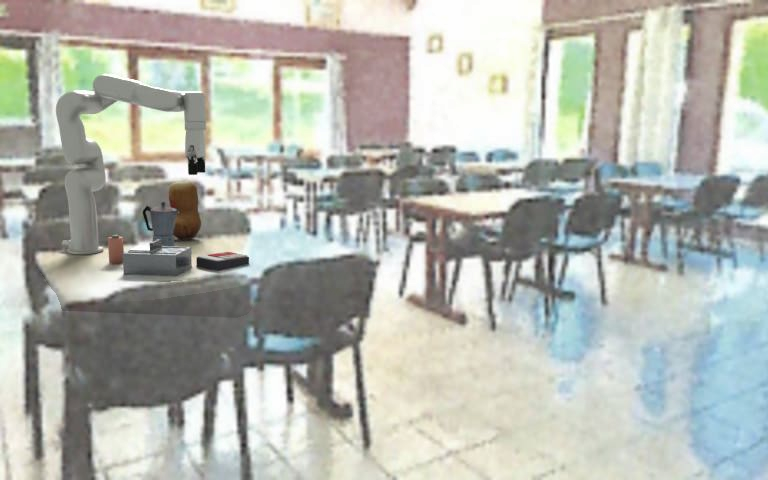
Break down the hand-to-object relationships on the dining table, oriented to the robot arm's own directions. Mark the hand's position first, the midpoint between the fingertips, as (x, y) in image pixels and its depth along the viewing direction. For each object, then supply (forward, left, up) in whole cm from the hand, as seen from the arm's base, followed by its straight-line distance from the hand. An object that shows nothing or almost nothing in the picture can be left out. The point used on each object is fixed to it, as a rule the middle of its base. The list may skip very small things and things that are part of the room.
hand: (197, 173), depth 246 cm
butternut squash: (-17, +31, -31) cm, 47 cm away
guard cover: (-10, -24, -24) cm, 35 cm away
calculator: (+13, -13, -32) cm, 37 cm away
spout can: (-25, -15, -31) cm, 43 cm away
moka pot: (-15, +1, -31) cm, 35 cm away
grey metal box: (-6, -24, -31) cm, 40 cm away
